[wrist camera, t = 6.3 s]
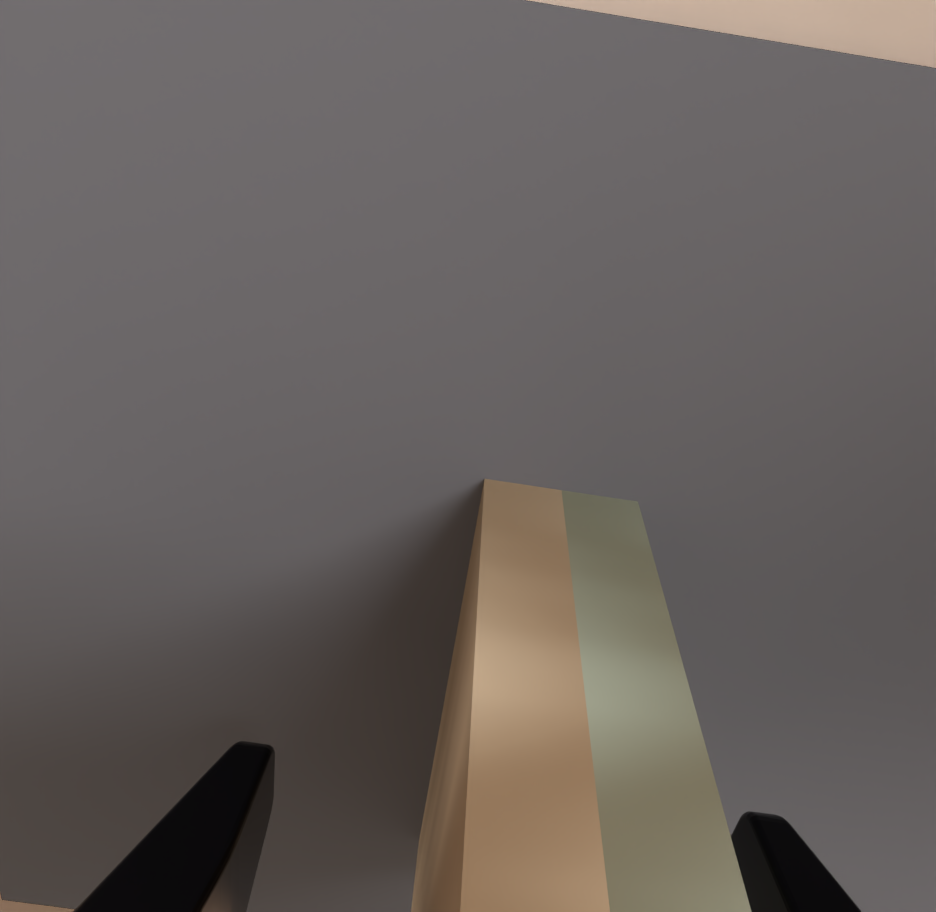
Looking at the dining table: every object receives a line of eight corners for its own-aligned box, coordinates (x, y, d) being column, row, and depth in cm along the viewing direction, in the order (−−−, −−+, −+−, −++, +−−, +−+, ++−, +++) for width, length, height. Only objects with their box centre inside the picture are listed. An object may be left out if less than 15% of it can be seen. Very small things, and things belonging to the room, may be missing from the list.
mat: (1709, 198, 6) (1778, 207, 6) (984, 1001, 13) (997, 1029, 12) (-222, -120, 6) (-270, -132, 6) (16, 874, 12) (2, 900, 12)
